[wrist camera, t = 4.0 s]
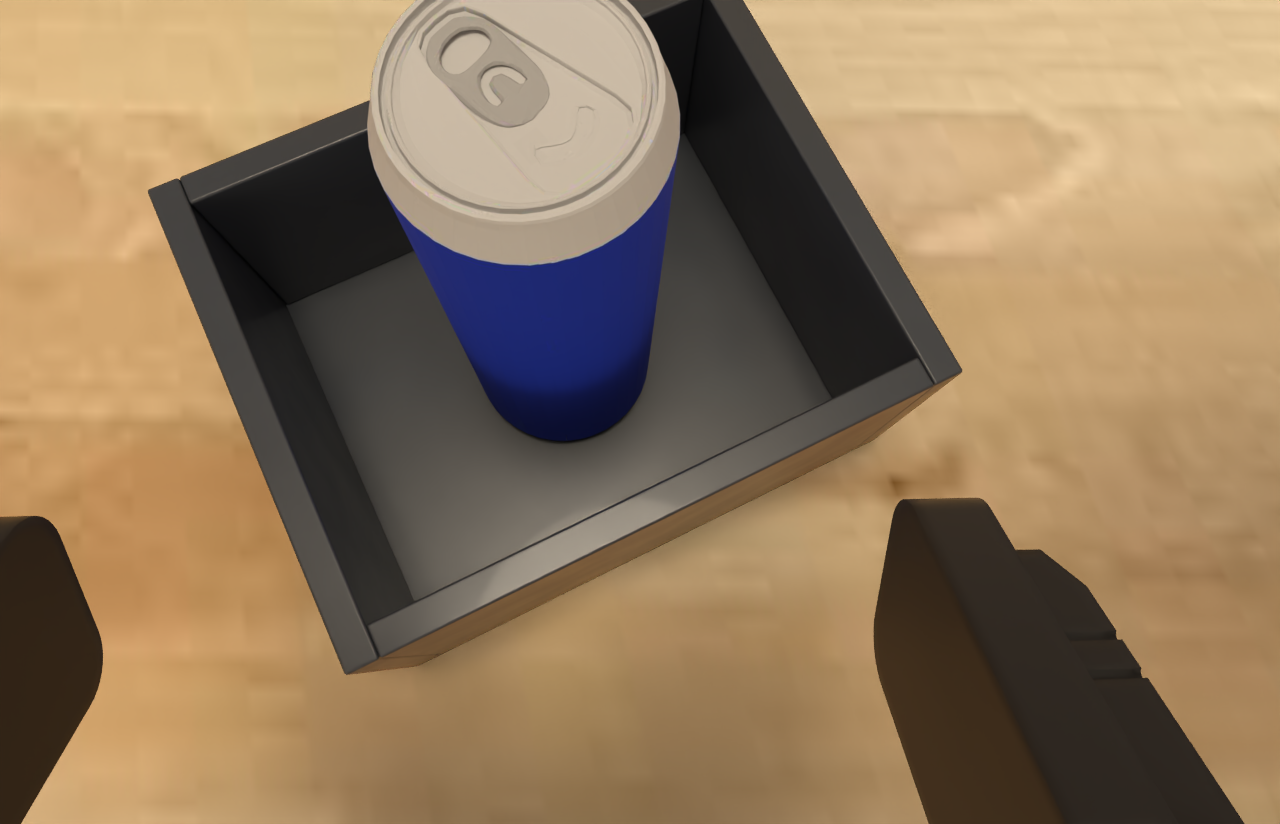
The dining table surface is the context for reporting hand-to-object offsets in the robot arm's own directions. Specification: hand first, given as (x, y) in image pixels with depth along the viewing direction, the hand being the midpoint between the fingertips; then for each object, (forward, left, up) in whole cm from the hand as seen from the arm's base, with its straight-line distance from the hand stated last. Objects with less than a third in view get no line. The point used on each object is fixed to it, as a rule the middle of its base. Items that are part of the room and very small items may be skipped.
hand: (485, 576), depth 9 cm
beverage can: (-3, -7, -19) cm, 20 cm away
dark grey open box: (-3, -7, -19) cm, 21 cm away
